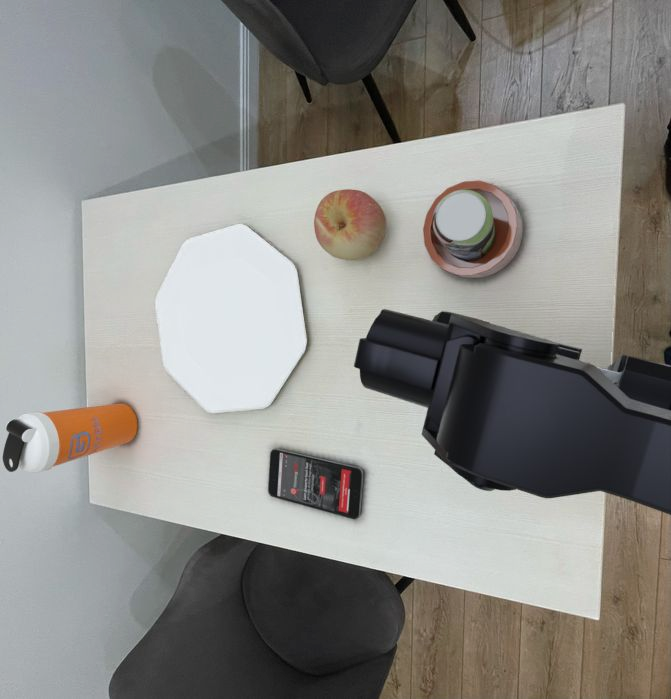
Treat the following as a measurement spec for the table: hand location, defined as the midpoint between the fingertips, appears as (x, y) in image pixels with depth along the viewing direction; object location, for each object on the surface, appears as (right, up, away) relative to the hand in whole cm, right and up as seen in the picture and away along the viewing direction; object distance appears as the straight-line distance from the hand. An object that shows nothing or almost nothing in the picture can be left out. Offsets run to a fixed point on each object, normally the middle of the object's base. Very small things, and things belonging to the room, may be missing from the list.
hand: (550, 366), depth 50 cm
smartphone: (-23, -17, +28) cm, 40 cm away
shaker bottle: (-57, -11, +45) cm, 74 cm away
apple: (-16, +17, +22) cm, 33 cm away
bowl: (-3, +16, +15) cm, 22 cm away
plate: (-36, +6, +33) cm, 49 cm away
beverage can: (-3, +15, +15) cm, 21 cm away
